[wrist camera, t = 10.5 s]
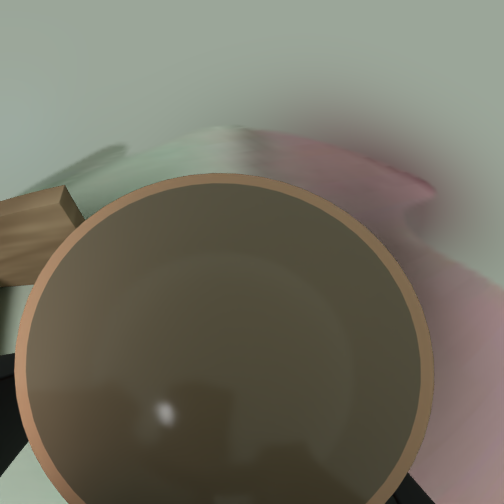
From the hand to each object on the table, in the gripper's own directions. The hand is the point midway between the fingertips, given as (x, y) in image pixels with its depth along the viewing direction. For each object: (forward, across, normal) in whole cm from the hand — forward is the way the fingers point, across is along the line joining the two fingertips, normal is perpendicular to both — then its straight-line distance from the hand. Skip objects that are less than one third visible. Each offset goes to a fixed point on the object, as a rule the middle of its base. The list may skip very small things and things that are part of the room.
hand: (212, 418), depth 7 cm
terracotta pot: (+6, 0, +5) cm, 8 cm away
